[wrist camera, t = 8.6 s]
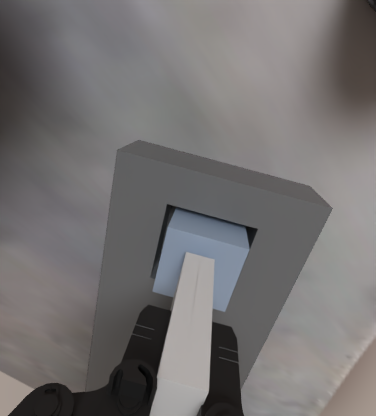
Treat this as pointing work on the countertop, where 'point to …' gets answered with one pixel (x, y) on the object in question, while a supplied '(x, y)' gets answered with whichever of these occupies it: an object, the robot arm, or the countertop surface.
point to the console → (213, 206)
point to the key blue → (203, 252)
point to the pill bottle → (372, 4)
